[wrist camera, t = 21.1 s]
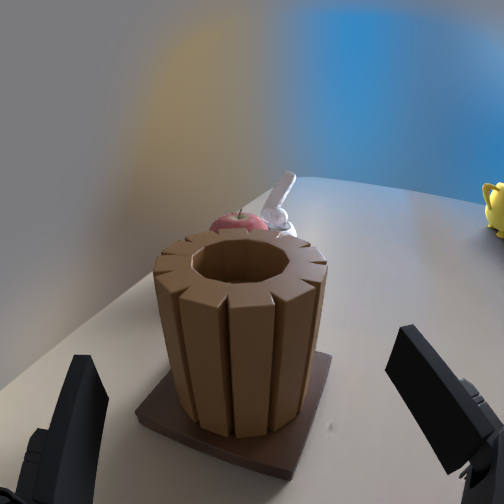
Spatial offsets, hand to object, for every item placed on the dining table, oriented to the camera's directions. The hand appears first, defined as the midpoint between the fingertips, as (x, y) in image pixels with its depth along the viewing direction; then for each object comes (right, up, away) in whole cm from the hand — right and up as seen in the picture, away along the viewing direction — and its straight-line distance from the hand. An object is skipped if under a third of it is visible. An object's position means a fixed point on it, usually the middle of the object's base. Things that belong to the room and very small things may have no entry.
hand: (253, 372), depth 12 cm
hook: (+3, +7, +38) cm, 39 cm away
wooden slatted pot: (-1, -5, +9) cm, 10 cm away
